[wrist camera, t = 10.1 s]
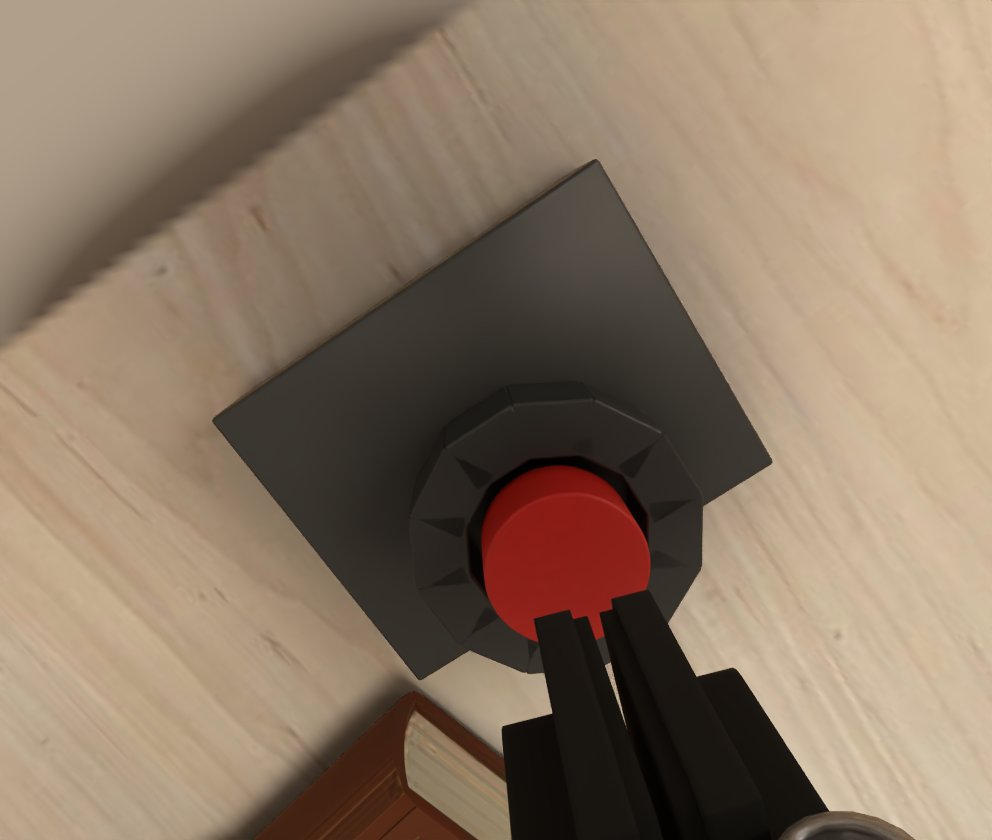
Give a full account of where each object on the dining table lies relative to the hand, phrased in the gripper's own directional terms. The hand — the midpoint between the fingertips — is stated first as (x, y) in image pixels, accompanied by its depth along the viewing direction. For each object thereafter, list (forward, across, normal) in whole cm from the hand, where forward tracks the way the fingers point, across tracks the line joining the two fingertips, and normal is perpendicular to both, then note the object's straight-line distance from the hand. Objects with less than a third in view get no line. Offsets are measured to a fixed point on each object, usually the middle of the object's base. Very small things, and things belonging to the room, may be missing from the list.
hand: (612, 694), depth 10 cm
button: (+5, 0, 0) cm, 5 cm away
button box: (+9, +1, -2) cm, 9 cm away
